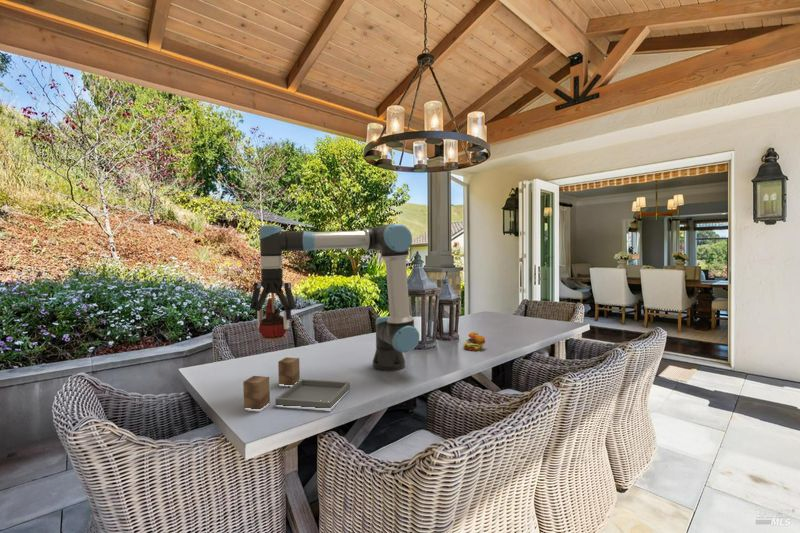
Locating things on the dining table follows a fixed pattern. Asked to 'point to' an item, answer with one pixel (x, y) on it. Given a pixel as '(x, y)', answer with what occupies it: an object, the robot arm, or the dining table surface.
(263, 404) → the left walnut block
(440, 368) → the dining table surface
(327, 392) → the tray
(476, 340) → the cheeseburger
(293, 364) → the right walnut block
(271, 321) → the cake
